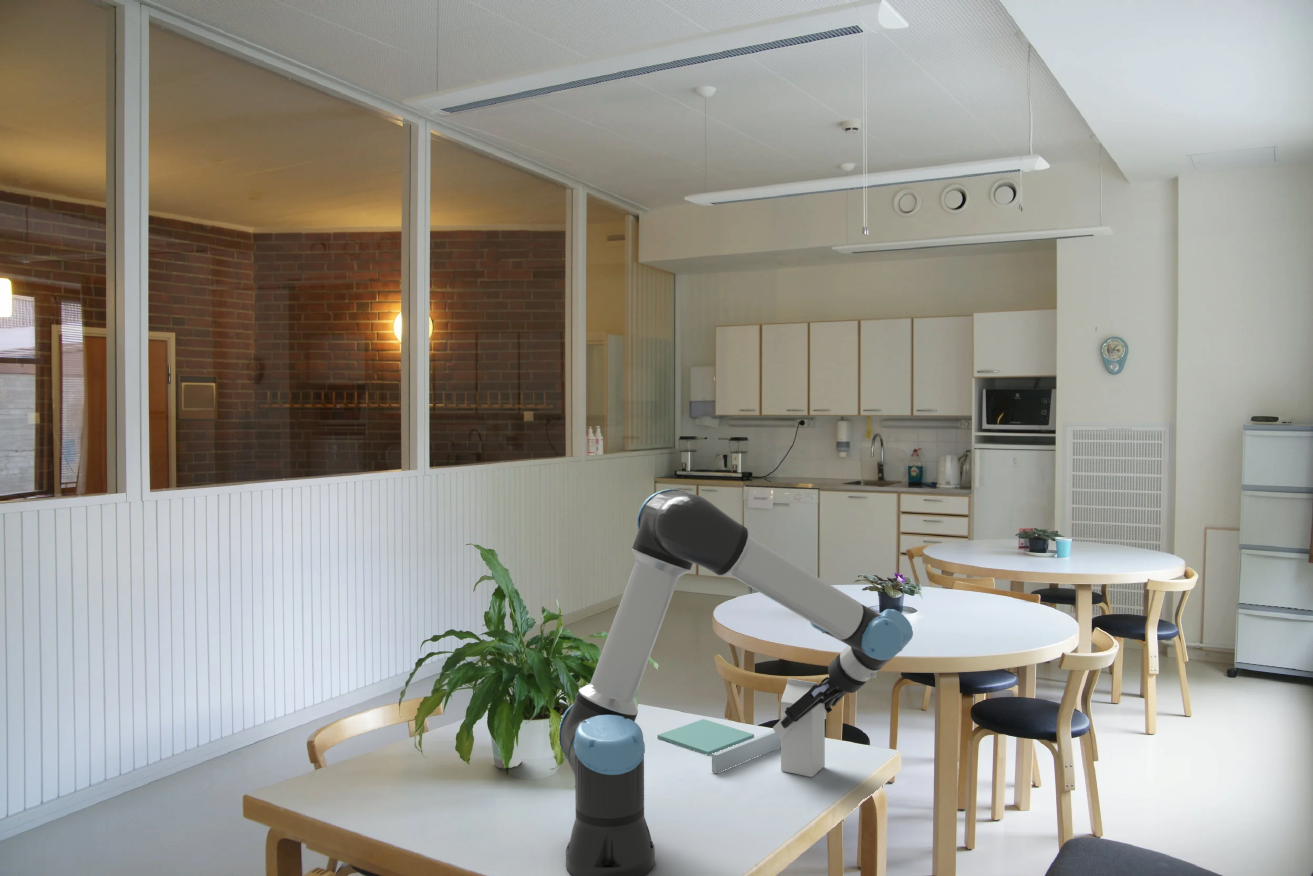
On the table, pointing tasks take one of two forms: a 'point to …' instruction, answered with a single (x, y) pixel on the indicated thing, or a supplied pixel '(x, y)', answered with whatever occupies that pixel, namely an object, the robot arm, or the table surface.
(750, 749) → the acrylic wall
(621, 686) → the robot arm
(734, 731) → the teal board
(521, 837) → the table surface
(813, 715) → the milk carton
